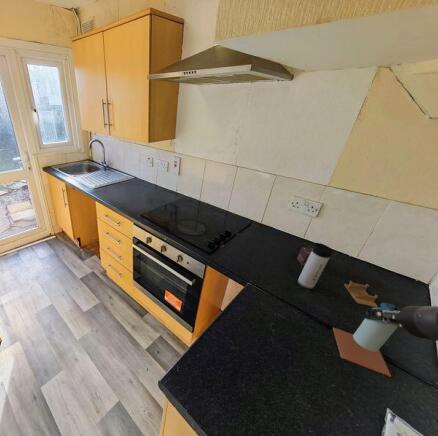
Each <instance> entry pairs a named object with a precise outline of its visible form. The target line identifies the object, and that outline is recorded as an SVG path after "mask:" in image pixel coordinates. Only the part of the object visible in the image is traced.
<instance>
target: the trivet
mask: <svg viewBox="0 0 438 436" xmlns="http://www.w3.org/2000/svg"><path fill="white" fill-rule="evenodd" d="M332 332H333V334H334V338H335V342H336V345H337V348H338V352H339V355H340V358H341V359H342V360H345V361H348V362H351V363H353V364H355V365H358V366H361V367H363V368H365V369H369V370H371V371H373V372H377V373H379V374H381V373H382V374H381V375H384V374H385V375H384V376H386V375H387V376H386V377H388V378H391V377H392V375H391V372H390V370H389V368H388V366H387V363H386V361H385V359H384V357H383V354H382V353H381V351H380V349H379V350H378V351H376V352H372V351H369V350H367V349H365V348H363V347H361V346H360V345H359V344H358V343H357V342H356V341H355V340H354V338H353V335H354V333H350V332H347V331H345V330H342V329H339V328H336V327H334V326H333V327H332Z"/></svg>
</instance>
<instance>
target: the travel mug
mask: <svg viewBox="0 0 438 436" xmlns="http://www.w3.org/2000/svg"><path fill="white" fill-rule="evenodd" d="M312 249H313V250H312V252H311V254H310V256H309V258H308V260H307V262H306V264H305V266H303V268H302V271H301V273H300V274H299V277H298V279H297V282H298V284H299V285H300V286H301V287H303V288H306V289H310V290H311V289H314V288H315V286H316V285H317V283H318V281H319V279H320V277H321V275H322V274H323V271H324V269H325V268H326V267H327V266H326V265H327V264H328V262H329V260H330V258H331V255H332V254H333V250H332V248H331V247H329V246H328V245H326V244H324V243H321V242H314V243H313V248H312Z"/></svg>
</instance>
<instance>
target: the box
mask: <svg viewBox="0 0 438 436" xmlns="http://www.w3.org/2000/svg"><path fill="white" fill-rule="evenodd" d="M312 250H313V248H312V247H302V246H301V248H300V251H299V253H298V255H297V256H296V257H297V258H296V259H297V261H298V262H299V263H300V265H301V266H302V267H304V266H305V264H306V262H307V260H308V258H309V256H310V254H311V252H312Z"/></svg>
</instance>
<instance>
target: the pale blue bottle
mask: <svg viewBox="0 0 438 436" xmlns="http://www.w3.org/2000/svg"><path fill="white" fill-rule="evenodd" d="M371 309H380V310H387V311H400V310H399V308H398V306H396V305H395V304H393V303H388V302H381V303H380V306H379V307H372V308H371ZM387 314H388V313H387ZM387 321H388V322H390V321H389V320H388V318H387ZM398 328H399V327H398V326H395V325H391V324H386V323H382V322H381V321H379V320H373V319H366V318H364V319H363V321H361V324H360V325H359V326H358V328H357V329H356V330H355V332H354V333H353V334H354V335H353V338H354V340H355V341H356V342H357V343H358V344H359V345H360V346H361V347H363V348H365V349H367V350H369V351H372V352H376V351H378V350H380V349H381V348H382V347H383V345H384V344H385V343H386V342H387V341H388V339H389V338H390V337H391V336H392V334H394V332H395V331H396V330H397V329H398Z"/></svg>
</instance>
